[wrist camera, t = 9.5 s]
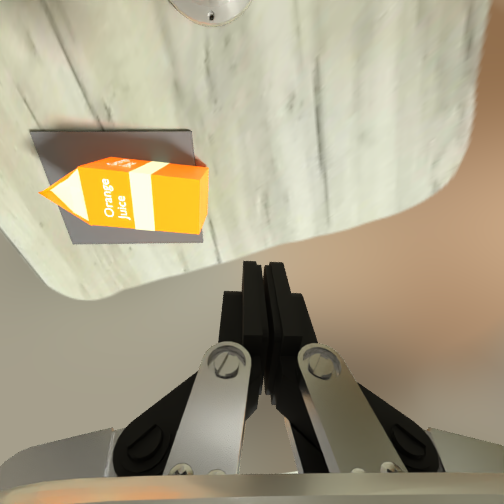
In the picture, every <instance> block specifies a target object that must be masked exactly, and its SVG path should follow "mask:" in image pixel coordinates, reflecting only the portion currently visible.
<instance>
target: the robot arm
mask: <svg viewBox="0 0 504 504" xmlns="http://www.w3.org/2000/svg"><path fill="white" fill-rule="evenodd" d="M170 2H171V3H172V4H173V5H174V7H175V8H176V9H177V10H178V11H179V12H180V13H181V14H183V15H184V16H185V17H186V18H188V19H189V20H191V21H193V22H195V23H197V24H200V25H203V26H210V27H217V26H222V25H226V24H228V23H230V22H232V21H234V20H235V19H237V18H238V17H239V16H240V15H242V14H243V12H244V11H245V10H246V9H247V8H248V6H249V5H250V3H251V2H252V0H170ZM210 16H213V17H214V19H213V20H210ZM263 378H264V385H265V394H266V395H271V404H272V405H276V409H277V410H279V412H280V413H281V414H283V415H284V420H285V426H286V429H287V433H288V437H289V441H290V444H291V448H292V452H293V456H294V459H295V463H296V467H297V470H298V474H239V470H240V462H241V455H242V446H243V440H244V432H245V424H246V420H247V419H248V418H249V417H250V416H251V414H252V413H253V412H254V411H255V410H256V409H257V405H258V397H259V395H261V391H262V385H263ZM0 504H504V446H502V445H499V444H495V443H491V442H487V441H483V440H479V439H475V438H471V437H467V436H463V435H459V434H455V433H450V432H446V431H442V430H438V429H434V428H430V427H429V428H428V429H427V430H423V429H422V428H421V427H419V426H418V425H417V424H416V423H415V422H414V421H412V420H411V419H409V418H408V417H406V416H405V415H404V414H402V413H401V412H399V411H398V410H396V409H395V408H393V407H392V406H390V405H389V404H388V403H386V402H385V401H383V400H382V399H381V398H379V397H378V396H376V395H375V394H373V393H372V392H371V391H369V390H368V389H366V388H365V387H363V386H362V385H361V384H359V383H357V382H356V380H355V379H354V377H353V375H352V373H351V372H350V370H349V368H348V367H347V365H346V363H345V362H344V359H343V358H342V357H341V356H340V354H339V353H338V352H336V351H335V350H334V349H333V348H331V347H329V346H327V345H324V344H320V343H318V342H317V339H316V335H315V332H314V329H313V326H312V323H311V320H310V317H309V314H308V311H307V308H306V305H305V301H304V298H303V296H302V294H301V293H291V291H290V287H289V283H288V279H287V276H286V272H285V268H284V264H283V263H282V262H270V263H269V265H265V267H264V276H263V277H262V268H261V265H257V264H256V261H244V262H243V277H242V292H238V291H224V295H223V304H222V313H221V322H220V331H219V341H218V343H217V344H216V345H213V346H211V348H209V349H208V350H207V351H206V353H205V354H204V356H203V359H202V362H201V364H200V368H199V370H198V371H197V372H196V373H195V374H193V375H192V376H191V377H189V378H188V379H187V380H186V381H185V382H183V383H182V384H181V385H179V386H178V387H176V388H175V389H174V390H173V391H171V392H170V393H169V394H167V395H166V396H165V397H163V398H162V399H161V400H160V401H158V402H157V403H156V404H154V405H153V406H152V407H150V408H149V409H148V410H146V411H145V412H144V413H142V415H140V416H139V417H137V418H136V419H135V420H133V421H132V422H131V423H130V424H129V425H128V426H127V427H126V428H124V429H119V430H115V431H114V430H113V428H108V429H104V430H100V431H96V432H91V433H88V434H83V435H79V436H75V437H71V438H66V439H62V440H58V441H54V442H50V443H46V444H42V445H37V446H34V447H30V448H28V449H25V450H23V451H20V452H18V453H17V454H15V455H14V456H12V457H11V458H10V459H8V460H7V461H5V462H4V463H3V464H2V465H1V466H0Z"/></svg>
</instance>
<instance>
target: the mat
mask: <svg viewBox="0 0 504 504" xmlns="http://www.w3.org/2000/svg"><path fill="white" fill-rule="evenodd" d="M30 134H31V137H32V139H33V142H34V144H35V147H36V150H37V152H38V155H39V157H40V160H41V163H42V165H43V168H44V170H45V173H46V176H47V178H48V181H49V183H50V186H52V185H53V184H55V183H56V182H57V181H59V180H60V179H62V178H63V177H65V176H66V175H68V174H69V173H71V172H72V171H74V170H75V169H77V167H78V166H82V165H85V164H89V163H92V162H95V161H99V160H102V159H106V158H109V157H116V158H125V159H134V160H143V161H155V162H164V163H171V164H180V165H189V166H195V159H194V149H193V140H192V131H121V132H30ZM58 207H59V209H60V212H61V215H62V217H63V220H64V222H65V225H66V228H67V230H68V233H69V235H70V238H71V241H72V243H73V244H134V243H203V234H202V228H201V231H200V234H189V233H178V232H166V231H151V230H140V229H133V228H122V227H110V226H99V225H92V226H91V225H90V224H88V223H86V222H85V221H83V220H81V219H80V218H78V217H77V216H75V215H73V214H72V213H70V212H69V211H67V210H65V209H64V208H62V207H61V206H59V205H58Z"/></svg>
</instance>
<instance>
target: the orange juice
mask: <svg viewBox="0 0 504 504" xmlns="http://www.w3.org/2000/svg"><path fill="white" fill-rule="evenodd" d="M208 169H209V168H207V167H198V166H189V165H180V164H171V163H164V162H155V161H143V160H134V159H125V158H116V157H109V158H106V159H102V160H99V161H95V162H92V163H89V164H85V165H82V166H78V167H77V169H75V170H74V171H72V172H71V173H69V174H68V175H66V176H65V177H63V178H62V179H60V180H59V181H57V182H56V183H55V184H53V185H52V186H50V187H49V188H47V189H46V190H44V191H41V192H38V193H40V194H41V195H43V196H45V197H46V198H48V199H49V200H51V201H53V202H54V203H56V204H57V205H59V206H61V207H62V208H64V209H65V210H67V211H69V212H70V213H72V214H73V215H75V216H77V217H78V218H80V219H81V220H83V221H85V222H86V223H88V224H90V225H91V226H92V225H99V226H110V227H122V228H133V229H140V230H151V231H166V232H178V233H189V234H200V231H201V228H202V226H203V223H204V221H205V218H206V215H207V204H208Z"/></svg>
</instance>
